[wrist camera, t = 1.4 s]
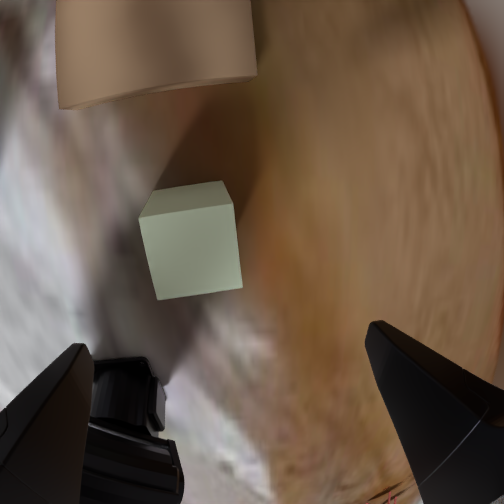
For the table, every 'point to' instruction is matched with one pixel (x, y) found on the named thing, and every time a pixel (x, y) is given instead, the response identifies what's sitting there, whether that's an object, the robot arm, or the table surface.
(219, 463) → the table surface
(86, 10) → the walnut riser block
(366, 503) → the figurine
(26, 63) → the table surface
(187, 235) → the sage block
